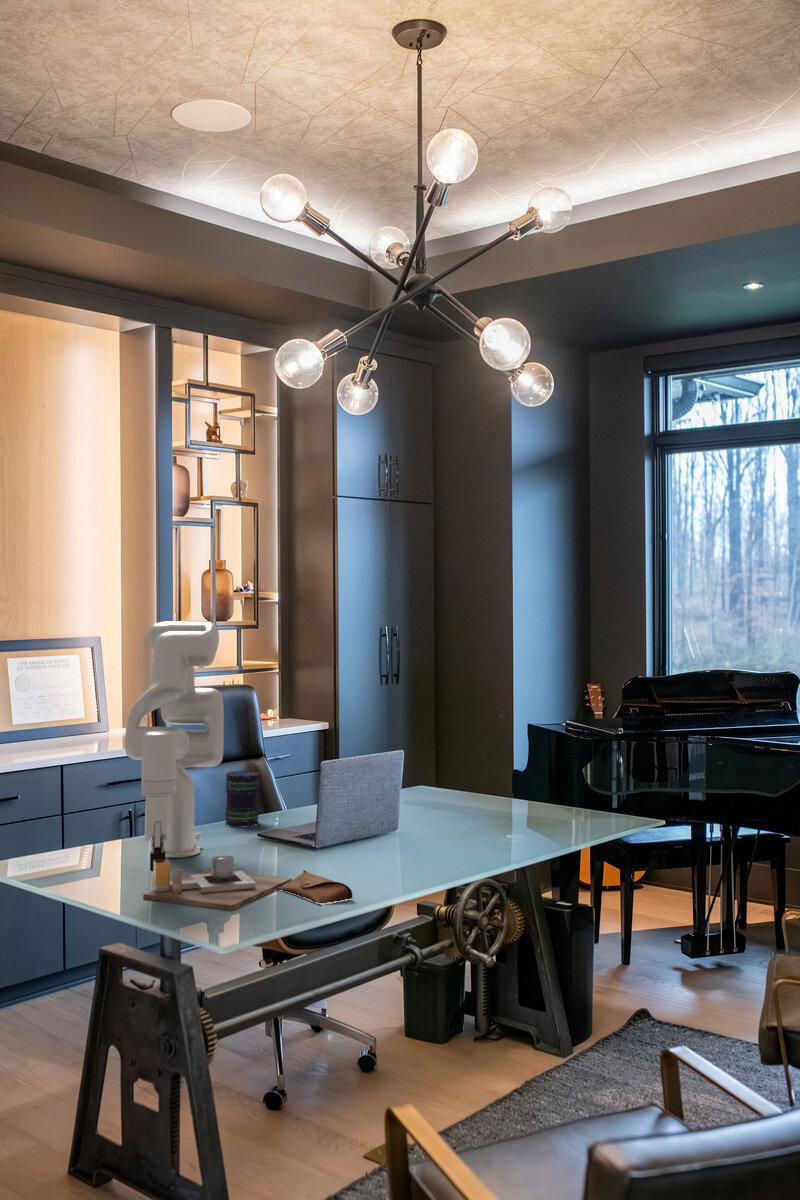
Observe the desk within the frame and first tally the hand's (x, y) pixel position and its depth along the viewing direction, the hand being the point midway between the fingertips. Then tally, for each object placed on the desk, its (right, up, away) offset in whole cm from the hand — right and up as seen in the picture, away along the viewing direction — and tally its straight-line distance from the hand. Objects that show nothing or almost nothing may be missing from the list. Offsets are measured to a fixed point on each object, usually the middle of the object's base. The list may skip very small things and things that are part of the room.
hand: (157, 870), depth 235 cm
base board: (+14, -5, 0) cm, 14 cm away
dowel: (+6, -3, -6) cm, 9 cm away
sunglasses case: (+35, -6, -3) cm, 35 cm away
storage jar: (+7, -7, +79) cm, 79 cm away
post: (+14, -4, +1) cm, 15 cm away
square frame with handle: (+10, -3, 0) cm, 11 cm away
